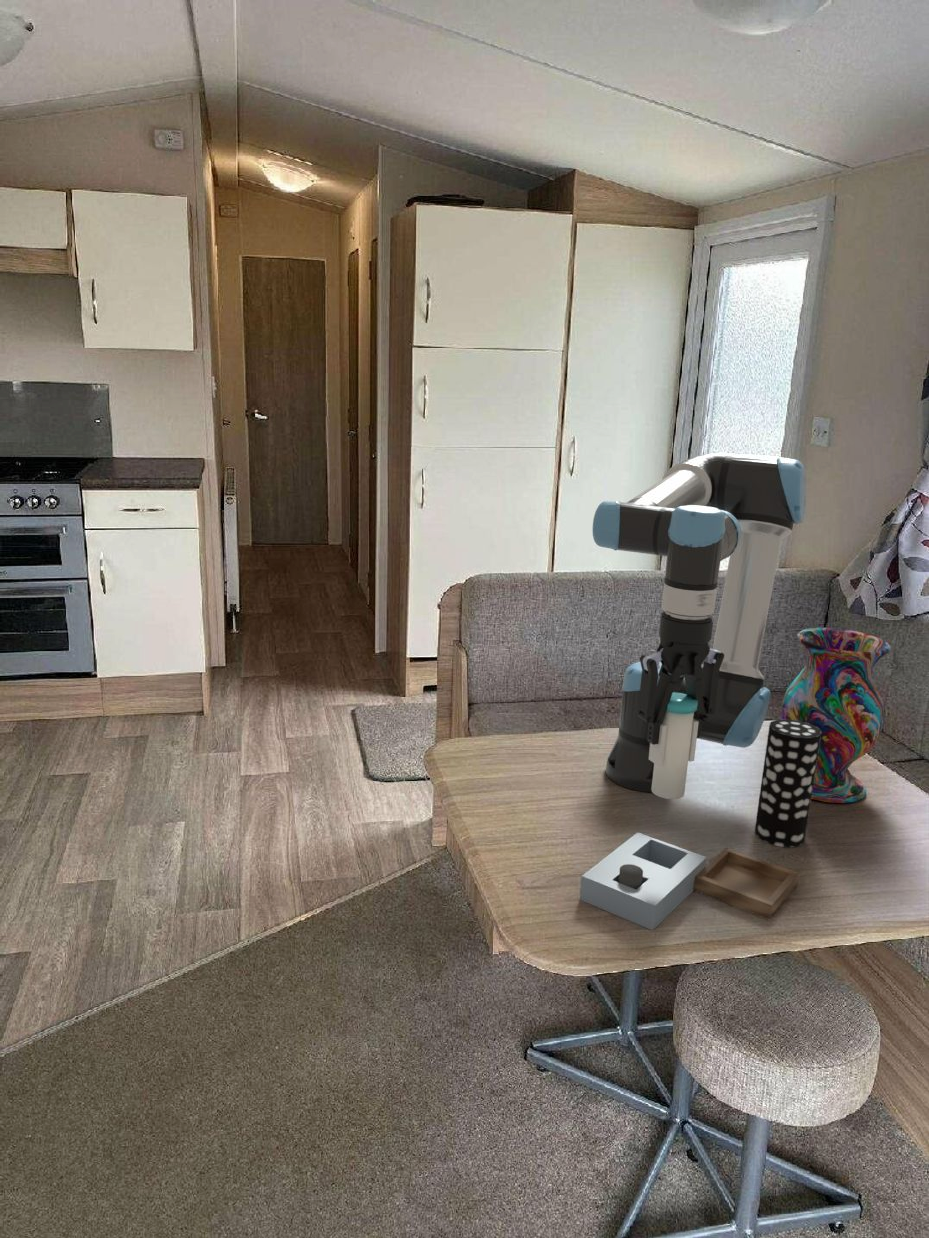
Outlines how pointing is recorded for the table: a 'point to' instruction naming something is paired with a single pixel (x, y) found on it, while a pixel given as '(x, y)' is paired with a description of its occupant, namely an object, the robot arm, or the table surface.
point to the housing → (643, 880)
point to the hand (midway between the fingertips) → (671, 759)
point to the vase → (838, 705)
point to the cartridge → (675, 748)
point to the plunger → (631, 876)
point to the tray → (746, 882)
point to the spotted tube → (787, 782)
